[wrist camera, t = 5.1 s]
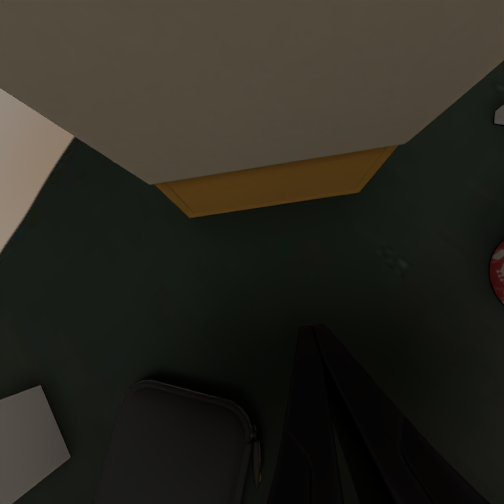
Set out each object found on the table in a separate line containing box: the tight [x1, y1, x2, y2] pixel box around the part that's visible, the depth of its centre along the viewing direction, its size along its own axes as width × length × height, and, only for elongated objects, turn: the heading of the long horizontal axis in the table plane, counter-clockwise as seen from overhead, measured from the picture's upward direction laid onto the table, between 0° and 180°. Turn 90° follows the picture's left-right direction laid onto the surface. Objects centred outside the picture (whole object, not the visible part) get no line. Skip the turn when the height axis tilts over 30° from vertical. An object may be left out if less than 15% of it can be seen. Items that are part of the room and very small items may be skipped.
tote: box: [155, 145, 398, 218], centre depth 20 cm, size 12×14×7 cm
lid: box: [0, 0, 504, 184], centre depth 8 cm, size 13×14×1 cm
